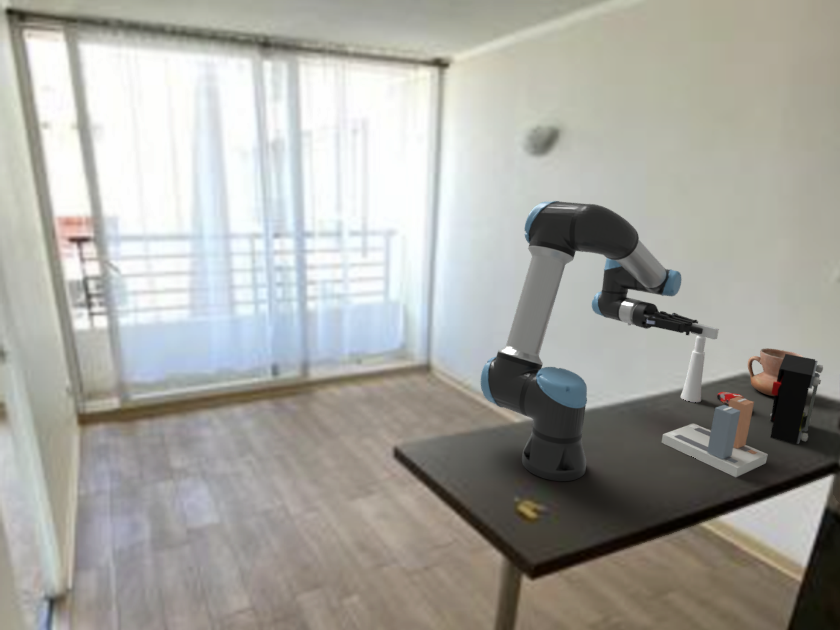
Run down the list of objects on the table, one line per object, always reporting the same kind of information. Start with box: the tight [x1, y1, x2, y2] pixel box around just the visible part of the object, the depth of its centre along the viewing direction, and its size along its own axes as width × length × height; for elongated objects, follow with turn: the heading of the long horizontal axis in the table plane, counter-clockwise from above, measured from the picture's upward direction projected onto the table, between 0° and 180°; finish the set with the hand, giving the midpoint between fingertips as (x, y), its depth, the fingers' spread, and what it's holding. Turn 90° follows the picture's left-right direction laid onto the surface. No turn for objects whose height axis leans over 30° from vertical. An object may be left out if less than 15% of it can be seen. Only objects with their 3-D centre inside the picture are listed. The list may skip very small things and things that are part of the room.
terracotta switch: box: [729, 397, 755, 448], centre depth 143 cm, size 4×4×12 cm
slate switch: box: [707, 404, 740, 459], centre depth 138 cm, size 4×4×12 cm
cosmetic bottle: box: [680, 335, 707, 403], centre depth 178 cm, size 6×6×22 cm
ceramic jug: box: [747, 347, 804, 397], centre depth 188 cm, size 18×14×14 cm
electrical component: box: [769, 354, 824, 445], centre depth 158 cm, size 18×10×20 cm, turn 143°
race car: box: [716, 391, 745, 406], centre depth 177 cm, size 13×5×4 cm, turn 0°
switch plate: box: [661, 422, 768, 478], centre depth 145 cm, size 20×14×3 cm
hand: (716, 334), depth 146 cm, fingers closed
